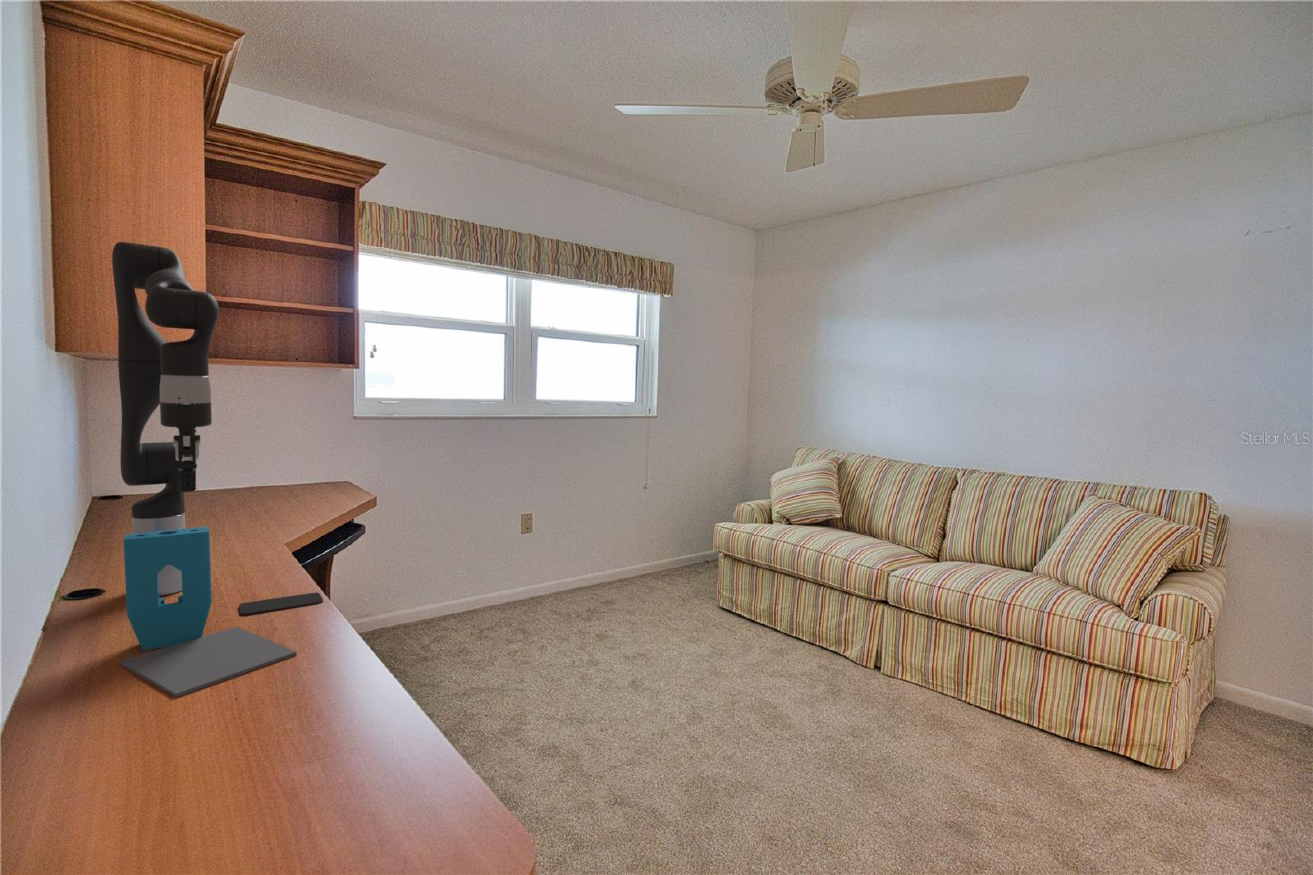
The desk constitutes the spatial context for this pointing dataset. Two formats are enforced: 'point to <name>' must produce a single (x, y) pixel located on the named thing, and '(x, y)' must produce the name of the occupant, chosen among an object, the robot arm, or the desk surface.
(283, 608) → the phone
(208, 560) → the block
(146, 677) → the mat
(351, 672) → the desk surface
